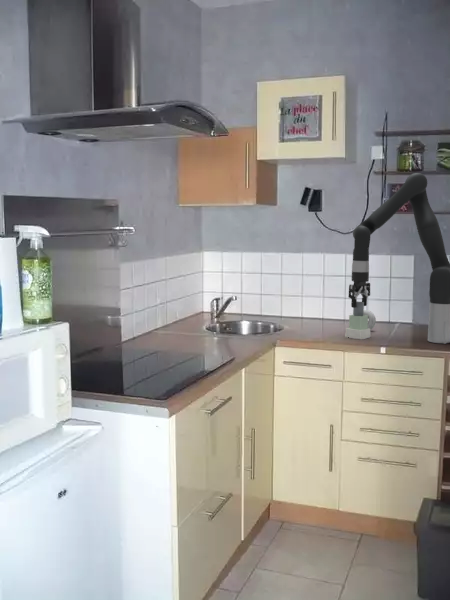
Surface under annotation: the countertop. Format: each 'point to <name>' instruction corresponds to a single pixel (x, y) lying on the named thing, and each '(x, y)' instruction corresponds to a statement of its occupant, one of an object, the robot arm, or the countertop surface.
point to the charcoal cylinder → (359, 309)
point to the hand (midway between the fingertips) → (359, 306)
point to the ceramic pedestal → (357, 333)
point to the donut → (370, 318)
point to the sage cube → (358, 322)
